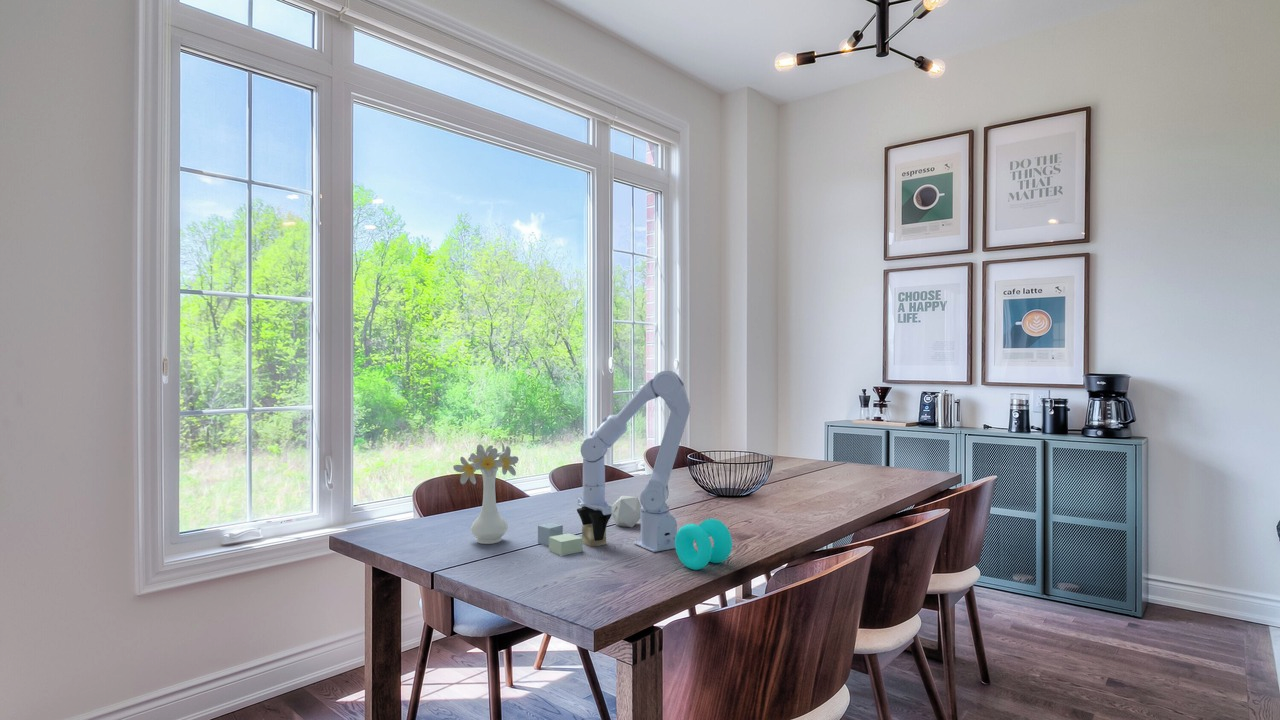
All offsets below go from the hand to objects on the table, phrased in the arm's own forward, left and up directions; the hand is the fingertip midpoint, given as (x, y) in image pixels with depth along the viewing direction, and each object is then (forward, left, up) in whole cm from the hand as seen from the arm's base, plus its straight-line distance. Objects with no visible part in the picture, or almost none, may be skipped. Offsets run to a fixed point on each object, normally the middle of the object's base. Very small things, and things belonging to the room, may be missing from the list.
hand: (594, 537), depth 170 cm
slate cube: (+7, +9, -2) cm, 12 cm away
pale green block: (-2, +9, -2) cm, 9 cm away
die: (+12, -17, -2) cm, 21 cm away
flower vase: (+16, +22, -2) cm, 27 cm away
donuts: (-30, -12, -2) cm, 32 cm away
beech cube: (0, 0, -1) cm, 1 cm away
